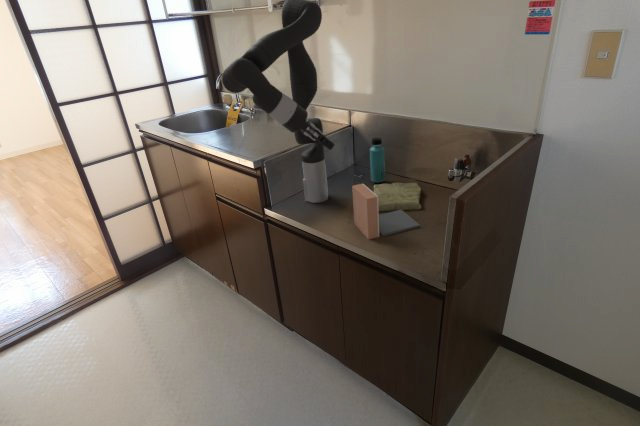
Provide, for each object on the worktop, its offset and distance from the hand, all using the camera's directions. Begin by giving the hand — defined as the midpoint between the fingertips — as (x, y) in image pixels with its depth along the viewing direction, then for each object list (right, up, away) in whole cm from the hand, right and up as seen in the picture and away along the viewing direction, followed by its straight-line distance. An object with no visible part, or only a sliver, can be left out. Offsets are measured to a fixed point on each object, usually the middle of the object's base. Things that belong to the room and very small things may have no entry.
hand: (331, 146), depth 118 cm
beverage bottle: (+22, -7, +51) cm, 56 cm away
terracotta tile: (+13, -26, +16) cm, 33 cm away
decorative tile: (+28, -15, +36) cm, 48 cm away
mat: (+22, -24, +18) cm, 38 cm away
